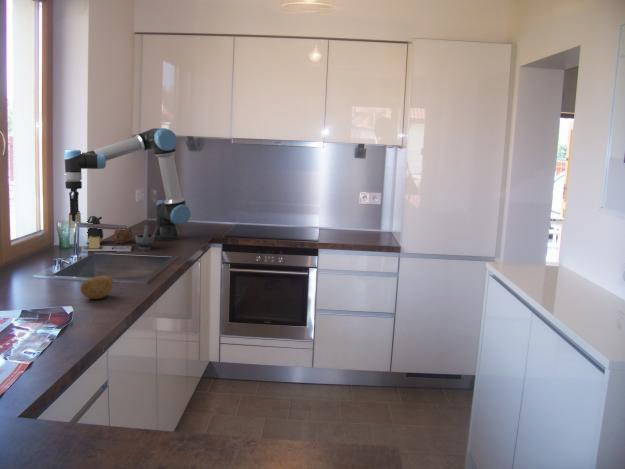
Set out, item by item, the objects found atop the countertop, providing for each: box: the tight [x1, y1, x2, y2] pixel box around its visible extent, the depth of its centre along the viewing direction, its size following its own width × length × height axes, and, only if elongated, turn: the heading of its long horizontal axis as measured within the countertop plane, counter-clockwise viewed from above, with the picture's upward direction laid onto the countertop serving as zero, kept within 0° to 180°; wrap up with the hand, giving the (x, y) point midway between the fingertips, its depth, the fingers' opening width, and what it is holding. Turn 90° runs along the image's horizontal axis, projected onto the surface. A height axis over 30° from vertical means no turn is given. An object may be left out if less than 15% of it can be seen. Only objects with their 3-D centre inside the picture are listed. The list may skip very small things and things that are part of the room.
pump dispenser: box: [86, 215, 104, 243], centre depth 303 cm, size 10×10×15 cm
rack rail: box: [80, 245, 132, 253], centre depth 289 cm, size 24×9×1 cm, turn 106°
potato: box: [80, 274, 114, 300], centre depth 202 cm, size 10×14×8 cm
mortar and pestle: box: [134, 225, 155, 251], centre depth 296 cm, size 11×9×12 cm
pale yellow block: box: [88, 236, 101, 249], centre depth 286 cm, size 5×5×7 cm
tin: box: [113, 227, 133, 245], centre depth 311 cm, size 15×3×8 cm, turn 168°
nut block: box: [68, 212, 82, 229], centre depth 282 cm, size 5×5×7 cm
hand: (74, 226), depth 283 cm, fingers closed on nut block, 5 cm apart
